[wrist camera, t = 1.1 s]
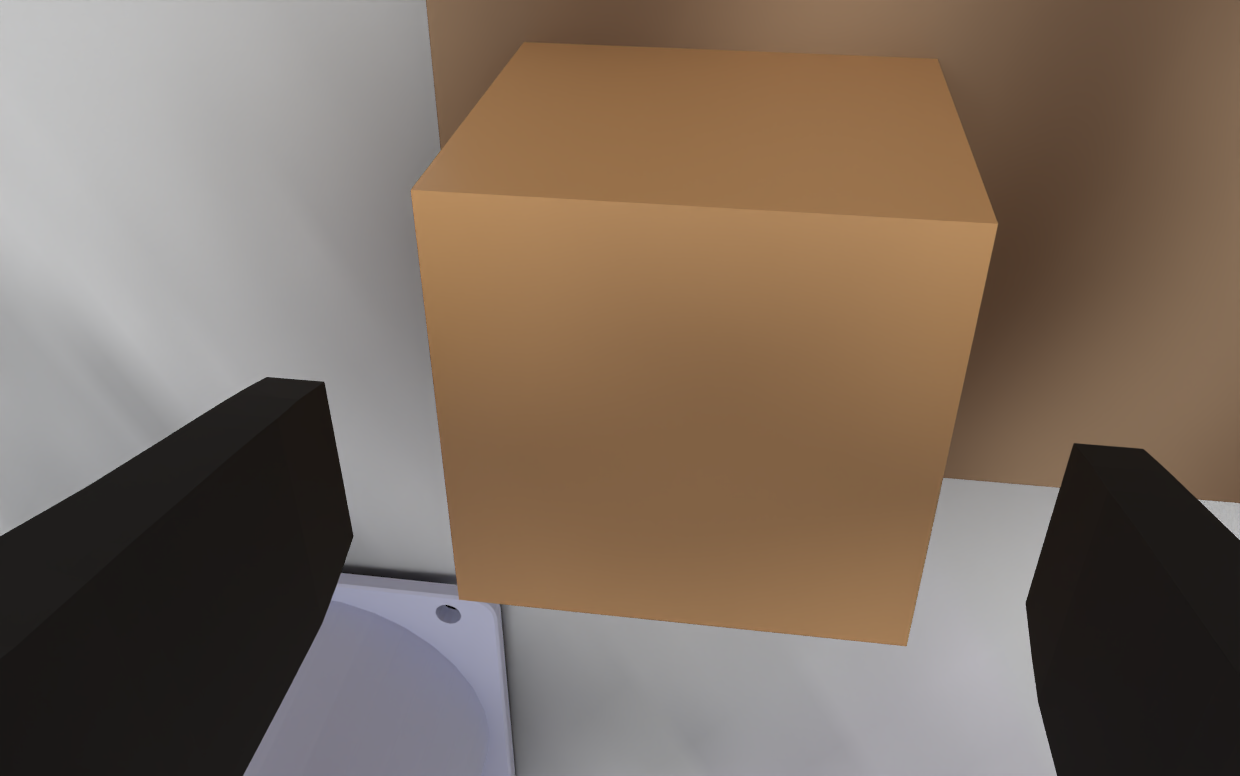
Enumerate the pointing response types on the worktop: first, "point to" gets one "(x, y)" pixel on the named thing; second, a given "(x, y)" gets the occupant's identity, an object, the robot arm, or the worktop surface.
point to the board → (1019, 197)
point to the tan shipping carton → (702, 332)
